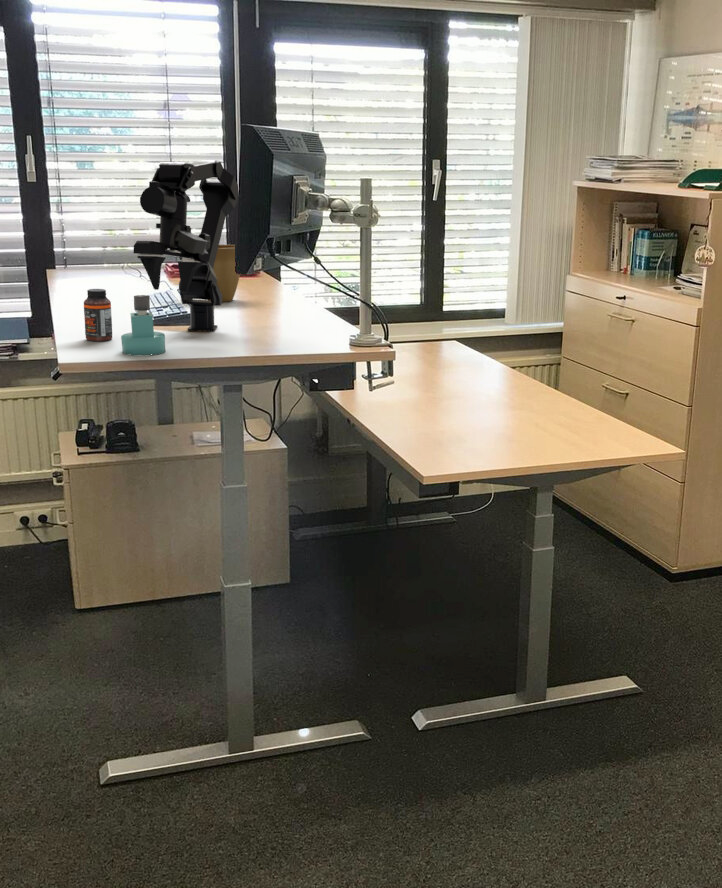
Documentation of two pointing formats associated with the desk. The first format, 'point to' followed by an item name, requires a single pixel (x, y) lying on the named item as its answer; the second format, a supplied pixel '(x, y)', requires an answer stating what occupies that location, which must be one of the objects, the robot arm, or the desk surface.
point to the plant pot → (226, 271)
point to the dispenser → (143, 337)
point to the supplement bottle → (97, 316)
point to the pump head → (141, 304)
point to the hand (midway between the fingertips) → (170, 291)
